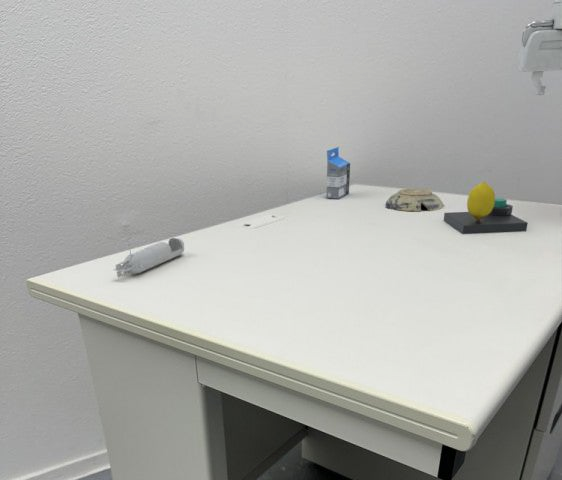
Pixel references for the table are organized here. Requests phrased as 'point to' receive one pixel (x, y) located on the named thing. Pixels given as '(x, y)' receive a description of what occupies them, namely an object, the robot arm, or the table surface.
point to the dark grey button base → (486, 222)
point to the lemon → (481, 201)
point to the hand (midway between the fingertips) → (559, 93)
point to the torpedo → (150, 257)
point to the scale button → (500, 203)
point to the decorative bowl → (414, 200)
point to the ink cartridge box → (337, 175)
